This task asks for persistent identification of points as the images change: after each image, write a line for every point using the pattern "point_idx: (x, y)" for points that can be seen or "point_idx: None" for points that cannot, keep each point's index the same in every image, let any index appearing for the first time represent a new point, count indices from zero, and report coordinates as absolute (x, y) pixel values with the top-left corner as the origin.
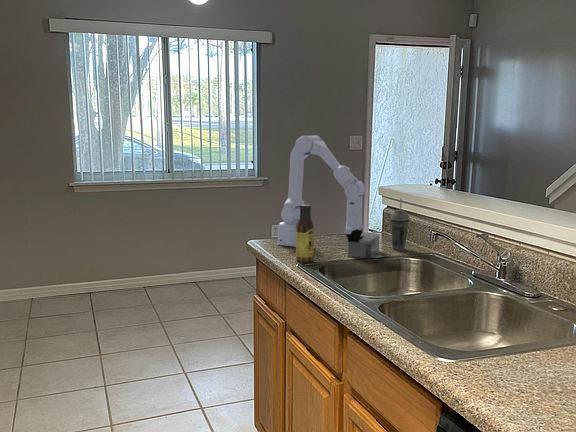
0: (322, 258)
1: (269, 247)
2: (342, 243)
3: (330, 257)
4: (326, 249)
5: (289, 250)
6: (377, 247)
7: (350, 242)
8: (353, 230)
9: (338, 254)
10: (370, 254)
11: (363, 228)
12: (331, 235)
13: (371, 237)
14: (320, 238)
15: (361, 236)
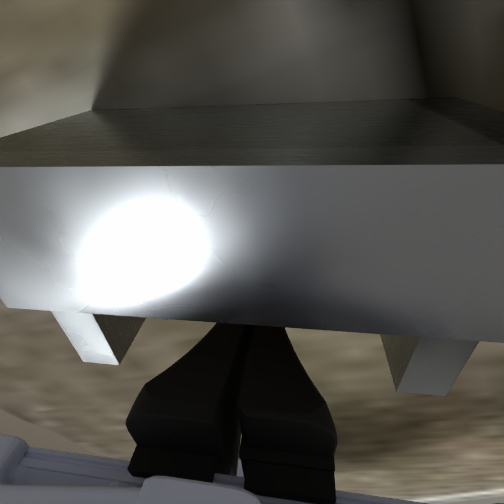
0: (486, 383)
1: None
2: None
3: None
4: None
5: (343, 470)
6: (123, 119)
7: (448, 377)
8: (295, 500)
9: (351, 338)
10: (436, 105)
11: (241, 490)
12: (4, 405)
13: (231, 229)
14: (83, 424)
15: (108, 339)
